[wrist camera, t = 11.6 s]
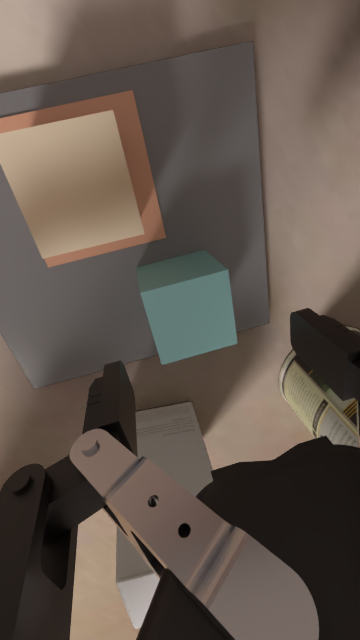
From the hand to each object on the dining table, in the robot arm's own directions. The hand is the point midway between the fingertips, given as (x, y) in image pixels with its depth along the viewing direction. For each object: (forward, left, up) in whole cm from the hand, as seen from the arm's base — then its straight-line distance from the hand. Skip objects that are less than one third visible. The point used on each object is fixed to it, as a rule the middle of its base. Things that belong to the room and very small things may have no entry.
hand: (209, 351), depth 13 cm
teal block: (0, 0, -9) cm, 9 cm away
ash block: (-4, +8, -9) cm, 12 cm away
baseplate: (-3, +4, -10) cm, 11 cm away
